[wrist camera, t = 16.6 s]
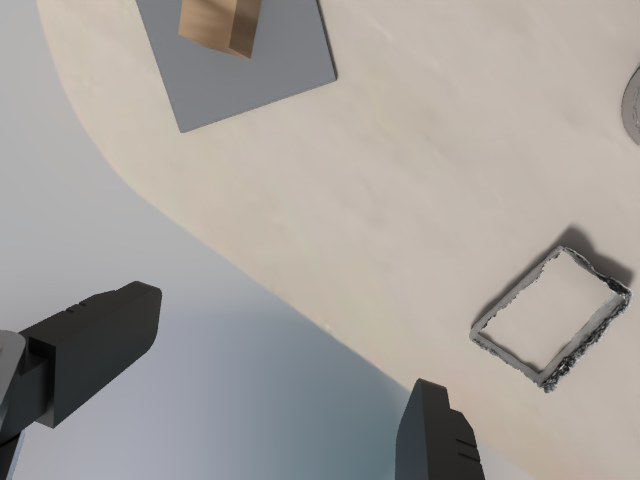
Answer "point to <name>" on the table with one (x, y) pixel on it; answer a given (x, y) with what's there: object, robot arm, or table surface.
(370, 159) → the table surface
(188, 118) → the charcoal mat
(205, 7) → the cream and brown block
